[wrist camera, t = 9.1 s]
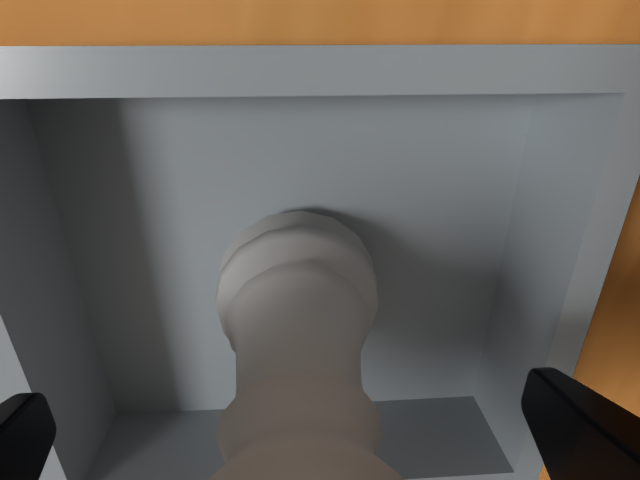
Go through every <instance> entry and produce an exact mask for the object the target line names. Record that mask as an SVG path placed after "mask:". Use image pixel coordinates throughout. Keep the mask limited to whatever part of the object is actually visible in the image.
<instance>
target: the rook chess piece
mask: <svg viewBox="0 0 640 480" xmlns="http://www.w3.org/2000/svg"><path fill="white" fill-rule="evenodd" d="M378 303H379V302H378V291H377V279H376V275H375V273H374V269H373V259H372V258H371V256H370V254H369V253H368V251H367V249H366V248H365V246H364V244H363V243H362V241H361V239H360V238H359V236H358V235H357V234H356V233H354V232H353V231H351V230H350V229H348V228H347V227H346V226H344V225H343V224H341V223H340V222H338V221H337V220H336V219H334V218H332V217H328V216H323V215H319V214H315V213H310V212H306V211H301V210H300V211H294V212H287V213H280V214H273V215H268V216H266V217H264V218H262V219H261V220H259V221H257V222H256V223H254V224H252V225H250V226H249V227H247V228H245V229H244V230H242V231H240V232H239V234H238V235H237V237H236V238H235V239H234V241H233V242H232V243H231V245H230V246H229V247H228V249H227V250H226V252H225V253H224V254H223V256H222V262H221V267H220V273H219V278H218V284H217V290H216V295H215V305H216V309H217V313H218V316H219V320H220V323H221V326H222V330H223V333H224V335H225V336H226V337H227V338H228V340H229V342H230V345H231V349H232V350H233V351H234V352H235V353H236V395H235V398H234V400H233V401H232V402H231V403H230V404H229V405H228V406H227V408H226V409H225V410H224V411H223V412H222V413H221V416H220V421H219V425H218V430H217V434H216V440H217V443H218V446H219V449H220V452H221V454H222V457H223V460H224V461H225V463H226V464H225V465H223V466H222V467H221V468H220V469H219V470H218V471H217V472H216V473H215V474H214V475H212V476H211V477H210V478H209V479H208V480H404V479H403V478H402V477H401V476H400V474H399V473H398V472H396V471H395V470H394V469H392V468H391V467H390V466H389V465H387V464H386V463H385V462H383V461H382V460H381V459H380V458H378V457H377V456H376V455H375V453H376V450H377V448H378V446H379V444H380V442H381V439H382V437H383V432H382V422H381V413H380V412H379V410H378V409H377V408H376V406H375V405H374V404H373V402H372V401H371V399H370V398H369V397H368V395H367V394H366V393H365V392H364V391H363V387H362V382H361V350H362V347H363V345H364V342H365V339H366V337H367V336H368V335H369V332H370V329H371V327H372V324H373V321H374V319H375V316H376V313H377V310H378Z"/></svg>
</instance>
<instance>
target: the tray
mask: <svg viewBox="0 0 640 480" xmlns="http://www.w3.org/2000/svg"><path fill="white" fill-rule="evenodd" d="M639 175H640V44H527V45H227V46H0V403H2V402H3V401H5V400H7V399H8V398H10V397H11V396H13V395H15V394H19V393H32V392H39V393H42V394H43V395H45V397H46V399H47V401H48V404H49V406H50V409H51V412H52V414H53V417H54V419H55V422H56V427H57V431H56V437H55V440H54V443H53V445H52V448H51V450H50V453H49V455H48V458H47V460H46V463H45V466H44V468H43V471H42V473H41V476H40V478H39V480H208V479H209V478H210V477H211V476H212V475H214V474H215V473H216V472H217V471H218V470H219V469H220V468H221V467H222V466H223V465H225V464H226V463H225V461H224V460H223V457H222V454H221V452H220V449H219V446H218V443H217V440H216V434H217V430H218V425H219V421H220V416H221V413H222V412H223V411H224V410H225V409H226V408H227V406H228V405H229V404H230V403H231V402H232V401H233V400H234V398H235V395H236V353H235V352H234V351H233V350H232V349H231V345H230V342H229V340H228V338H227V337H226V336H225V335H224V333H223V330H222V326H221V323H220V320H219V316H218V313H217V309H216V305H215V295H216V290H217V284H218V278H219V273H220V267H221V262H222V256H223V254H224V253H225V252H226V250H227V249H228V247H229V246H230V245H231V243H232V242H233V241H234V239H235V238H236V237H237V235H238V234H239V232H240V231H242V230H244V229H245V228H247V227H249V226H250V225H252V224H254V223H256V222H257V221H259V220H261V219H262V218H264V217H266V216H268V215H273V214H280V213H287V212H294V211H300V210H301V211H306V212H310V213H315V214H319V215H323V216H328V217H332V218H334V219H336V220H337V221H338V222H340V223H341V224H343V225H344V226H346V227H347V228H348V229H350V230H351V231H353V232H354V233H356V234H357V235H358V236H359V238H360V239H361V241H362V243H363V244H364V246H365V248H366V249H367V251H368V253H369V254H370V256H371V258H372V259H373V269H374V273H375V275H376V279H377V291H378V302H379V303H378V310H377V313H376V316H375V319H374V321H373V324H372V327H371V329H370V332H369V335H368V336H367V337H366V339H365V342H364V345H363V347H362V350H361V382H362V387H363V391H364V392H365V393H366V394H367V395H368V397H369V398H370V399H371V401H372V402H373V404H374V405H375V406H376V408H377V409H378V410H379V412H380V413H381V422H382V432H383V437H382V439H381V442H380V444H379V446H378V448H377V450H376V453H375V455H376V456H377V457H378V458H380V459H381V460H382V461H383V462H385V463H386V464H387V465H389V466H390V467H391V468H392V469H394V470H395V471H396V472H398V473H399V474H400V476H401V477H402V478H403V479H404V480H538V478H539V475H540V472H541V469H542V466H543V463H544V462H543V460H542V458H541V455H540V453H539V451H538V448H537V446H536V443H535V441H534V439H533V436H532V434H531V431H530V429H529V427H528V424H527V422H526V420H525V417H524V415H523V412H522V408H521V397H522V393H523V390H524V386H525V382H526V379H527V375H528V372H529V371H530V370H531V369H532V368H539V367H553V368H556V369H558V370H559V371H561V372H563V373H564V374H566V375H568V376H570V377H571V378H572V376H573V373H574V370H575V367H576V364H577V361H578V358H579V355H580V352H581V349H582V346H583V343H584V340H585V337H586V334H587V331H588V328H589V325H590V322H591V319H592V316H593V313H594V310H595V307H596V304H597V301H598V298H599V295H600V292H601V289H602V286H603V283H604V280H605V277H606V274H607V271H608V268H609V265H610V262H611V259H612V256H613V253H614V250H615V247H616V244H617V241H618V238H619V235H620V232H621V229H622V226H623V223H624V220H625V217H626V214H627V211H628V208H629V205H630V202H631V199H632V196H633V193H634V190H635V187H636V184H637V181H638V178H639Z"/></svg>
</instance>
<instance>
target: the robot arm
mask: <svg viewBox="0 0 640 480" xmlns="http://www.w3.org/2000/svg"><path fill="white" fill-rule="evenodd" d="M521 408H522V412H523V415H524V417H525V420H526V422H527V424H528V427H529V429H530V431H531V434H532V436H533V439H534V441H535V443H536V446H537V448H538V451H539V453H540V455H541V458H542V460H543V462H544V465H545V467H546V470H547V472H548V474H549V477H550V479H551V480H640V418H639V417H638V416H636V415H634V414H633V413H631V412H629V411H627V410H626V409H624V408H622V407H621V406H619V405H617V404H615V403H614V402H612V401H610V400H609V399H607V398H605V397H604V396H602V395H600V394H598V393H597V392H595V391H593V390H592V389H590V388H588V387H587V386H585V385H583V384H581V383H580V382H578V381H576V380H575V379H573V378H571V377H570V376H568V375H566V374H564V373H563V372H561V371H559V370H558V369H556V368H553V367H539V368H532V369H531V370H530V371H529V372H528V375H527V379H526V382H525V386H524V390H523V393H522V397H521ZM56 431H57V427H56V422H55V419H54V417H53V414H52V412H51V409H50V406H49V404H48V401H47V399H46V397H45V395H43V394H42V393H39V392H32V393H19V394H15V395H13V396H11V397H10V398H8V399H7V400H5V401H3V402H2V403H0V480H39V478H40V476H41V473H42V471H43V468H44V466H45V463H46V460H47V458H48V455H49V453H50V450H51V448H52V445H53V443H54V440H55V437H56Z"/></svg>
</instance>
